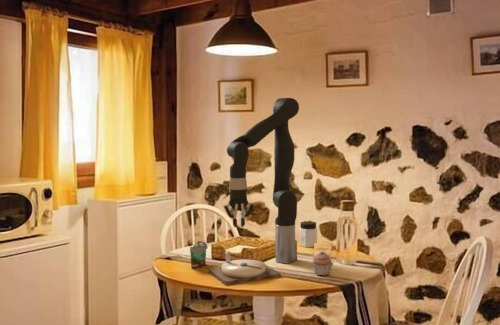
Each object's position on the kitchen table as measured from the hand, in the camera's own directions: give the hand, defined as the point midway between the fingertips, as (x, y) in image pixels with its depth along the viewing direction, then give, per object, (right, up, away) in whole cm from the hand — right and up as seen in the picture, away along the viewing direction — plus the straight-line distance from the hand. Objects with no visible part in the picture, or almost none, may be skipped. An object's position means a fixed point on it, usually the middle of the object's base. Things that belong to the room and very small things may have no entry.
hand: (238, 226), depth 240 cm
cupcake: (+36, -20, -8) cm, 41 cm away
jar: (+35, -15, +43) cm, 57 cm away
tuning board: (+2, -20, -7) cm, 21 cm away
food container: (-17, -19, +8) cm, 27 cm away
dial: (+2, -18, -7) cm, 19 cm away
